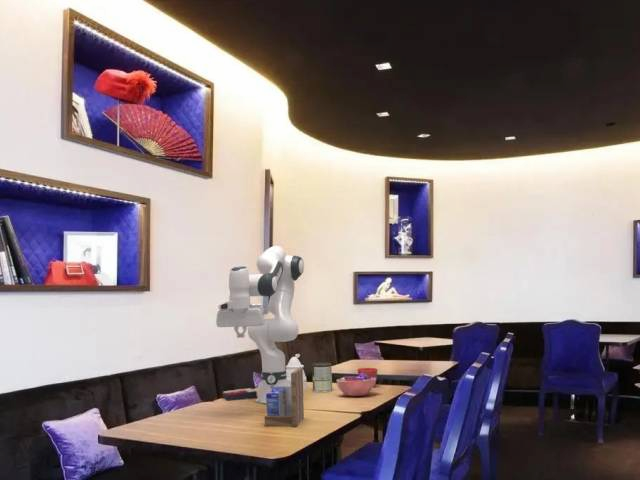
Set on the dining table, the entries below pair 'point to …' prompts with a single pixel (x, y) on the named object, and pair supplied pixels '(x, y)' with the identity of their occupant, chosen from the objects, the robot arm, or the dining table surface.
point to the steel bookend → (287, 399)
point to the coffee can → (322, 377)
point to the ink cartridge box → (275, 402)
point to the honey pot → (293, 366)
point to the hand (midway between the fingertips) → (240, 337)
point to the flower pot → (369, 372)
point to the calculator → (239, 394)
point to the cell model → (356, 384)
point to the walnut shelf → (296, 403)
